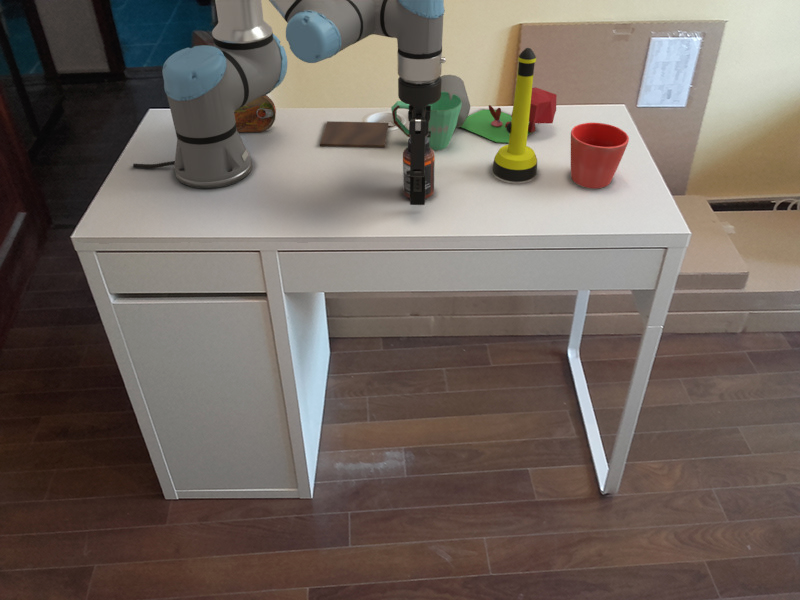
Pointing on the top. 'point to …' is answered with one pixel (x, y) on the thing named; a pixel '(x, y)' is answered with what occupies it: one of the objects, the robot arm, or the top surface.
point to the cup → (457, 87)
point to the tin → (255, 115)
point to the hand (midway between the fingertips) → (418, 186)
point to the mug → (436, 119)
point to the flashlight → (519, 130)
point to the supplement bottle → (428, 169)
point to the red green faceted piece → (496, 122)
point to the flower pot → (596, 153)
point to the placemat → (355, 134)
